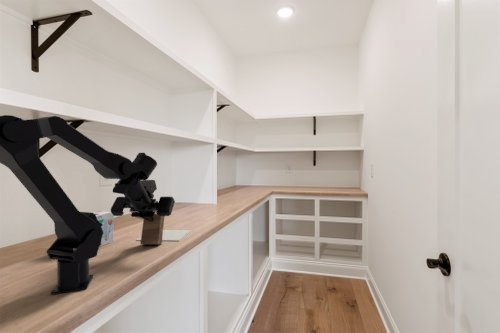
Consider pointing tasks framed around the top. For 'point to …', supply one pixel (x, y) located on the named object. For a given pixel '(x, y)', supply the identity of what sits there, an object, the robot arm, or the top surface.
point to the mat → (172, 235)
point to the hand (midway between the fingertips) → (152, 220)
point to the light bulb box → (106, 226)
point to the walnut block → (153, 230)
